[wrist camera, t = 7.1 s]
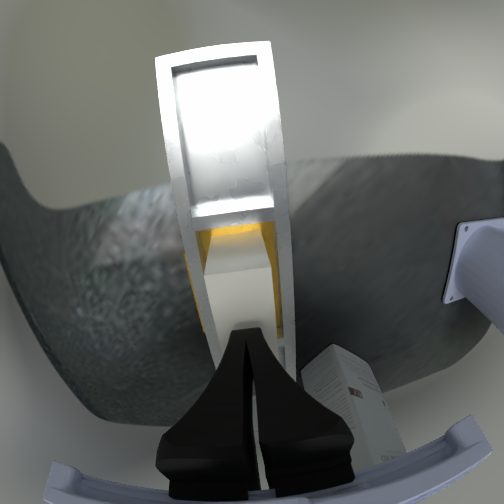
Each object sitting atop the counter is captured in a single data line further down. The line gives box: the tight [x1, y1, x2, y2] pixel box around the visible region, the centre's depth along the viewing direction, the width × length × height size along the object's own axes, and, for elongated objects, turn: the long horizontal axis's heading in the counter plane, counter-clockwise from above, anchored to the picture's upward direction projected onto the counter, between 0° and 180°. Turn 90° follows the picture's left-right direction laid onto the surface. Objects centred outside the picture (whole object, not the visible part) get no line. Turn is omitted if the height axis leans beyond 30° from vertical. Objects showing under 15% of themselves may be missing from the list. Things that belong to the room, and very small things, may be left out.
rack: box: [155, 41, 296, 441], centre depth 16 cm, size 6×29×6 cm, turn 6°
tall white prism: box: [204, 230, 279, 361], centre depth 16 cm, size 3×7×5 cm, turn 6°
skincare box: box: [301, 344, 407, 472], centre depth 18 cm, size 6×4×12 cm
